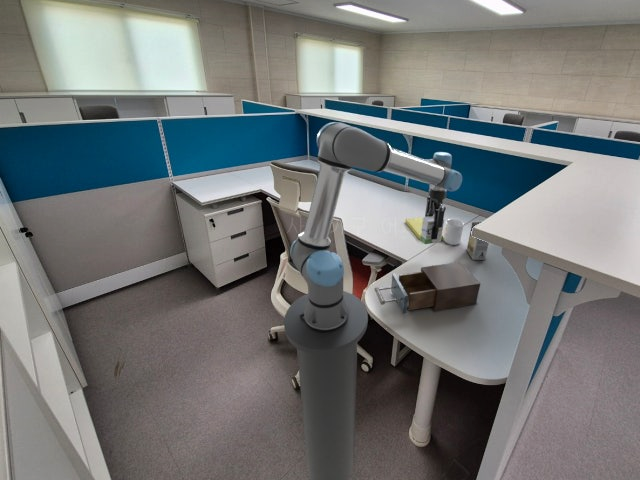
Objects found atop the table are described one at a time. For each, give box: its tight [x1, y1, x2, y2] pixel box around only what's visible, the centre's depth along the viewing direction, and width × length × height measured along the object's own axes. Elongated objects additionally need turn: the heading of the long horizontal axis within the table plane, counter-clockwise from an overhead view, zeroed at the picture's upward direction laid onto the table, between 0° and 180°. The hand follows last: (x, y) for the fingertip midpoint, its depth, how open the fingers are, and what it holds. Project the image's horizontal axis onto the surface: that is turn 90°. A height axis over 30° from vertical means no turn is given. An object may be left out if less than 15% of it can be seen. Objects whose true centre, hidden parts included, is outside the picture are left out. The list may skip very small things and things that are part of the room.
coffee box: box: [466, 221, 490, 261], centre depth 145 cm, size 9×6×16 cm
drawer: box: [374, 271, 437, 314], centre depth 114 cm, size 24×13×8 cm, turn 106°
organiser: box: [420, 261, 481, 312], centre depth 118 cm, size 18×15×10 cm
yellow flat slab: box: [405, 217, 444, 241], centre depth 169 cm, size 12×2×24 cm
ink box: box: [419, 215, 445, 245], centre depth 139 cm, size 8×5×12 cm, turn 109°
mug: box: [443, 218, 465, 246], centre depth 159 cm, size 12×9×11 cm
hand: (431, 235), depth 140 cm, fingers closed on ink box, 5 cm apart
